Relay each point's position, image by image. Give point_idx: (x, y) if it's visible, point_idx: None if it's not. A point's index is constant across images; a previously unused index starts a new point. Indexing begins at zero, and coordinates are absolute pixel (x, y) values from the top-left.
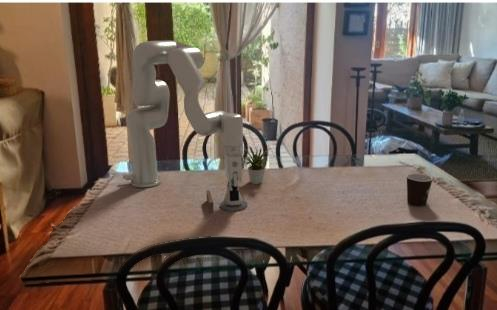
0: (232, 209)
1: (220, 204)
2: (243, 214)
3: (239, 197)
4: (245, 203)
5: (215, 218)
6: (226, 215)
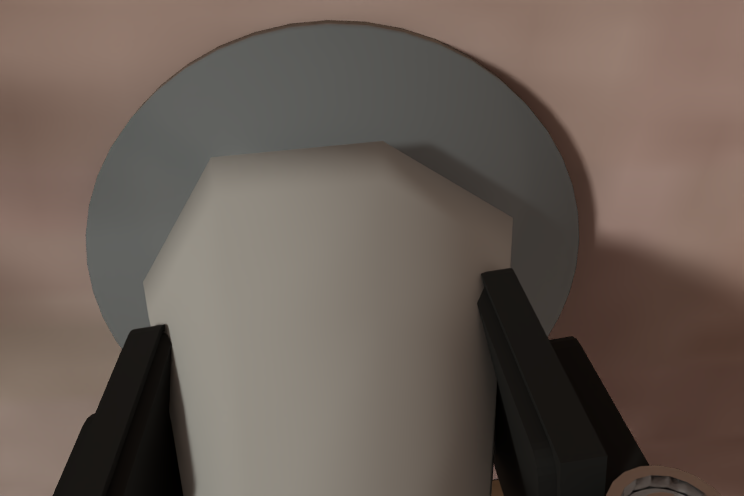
0: (562, 289)
1: None
2: (736, 108)
3: (438, 271)
4: (323, 70)
5: (719, 442)
6: (679, 340)
